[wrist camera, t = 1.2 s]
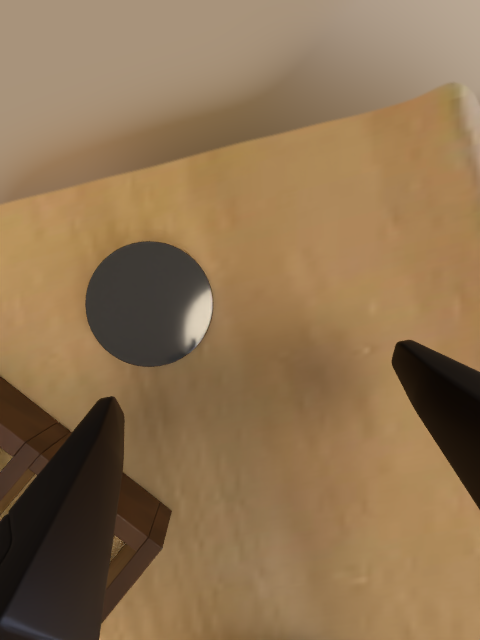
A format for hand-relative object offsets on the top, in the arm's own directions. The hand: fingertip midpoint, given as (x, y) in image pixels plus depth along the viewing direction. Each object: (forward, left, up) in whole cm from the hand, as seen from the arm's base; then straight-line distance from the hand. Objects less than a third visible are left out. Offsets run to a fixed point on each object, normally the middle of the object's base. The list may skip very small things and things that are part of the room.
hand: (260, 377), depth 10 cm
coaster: (+5, +5, -15) cm, 16 cm away
